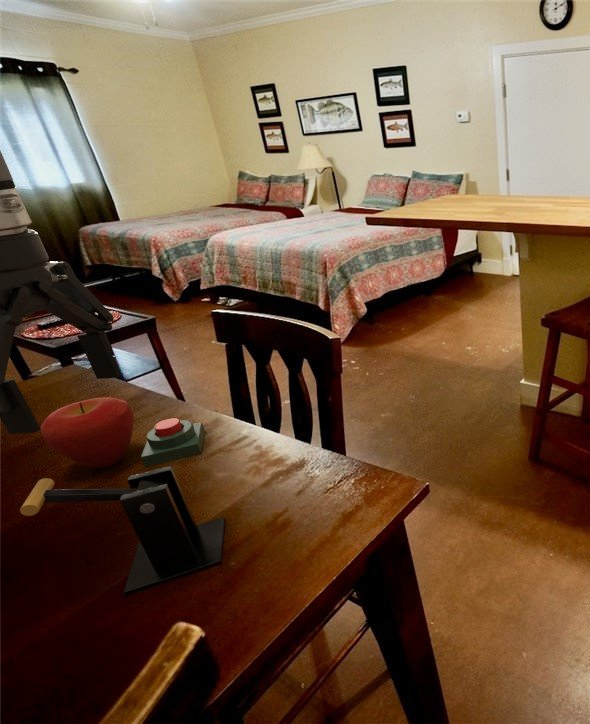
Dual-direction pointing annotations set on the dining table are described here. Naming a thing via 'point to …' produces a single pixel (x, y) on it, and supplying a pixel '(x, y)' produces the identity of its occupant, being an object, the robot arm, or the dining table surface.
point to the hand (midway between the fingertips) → (71, 401)
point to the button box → (174, 444)
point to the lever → (76, 494)
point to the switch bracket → (168, 533)
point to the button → (168, 427)
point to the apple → (91, 431)
